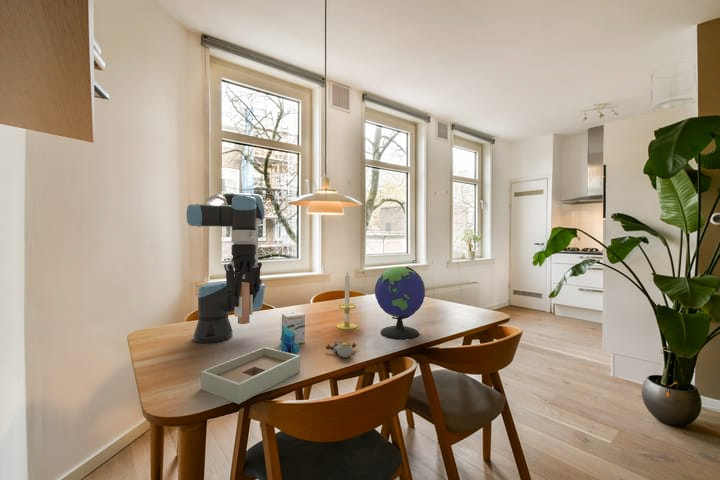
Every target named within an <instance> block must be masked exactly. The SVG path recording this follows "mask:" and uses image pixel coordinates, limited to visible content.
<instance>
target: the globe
mask: <svg viewBox="0 0 720 480" xmlns="http://www.w3.org/2000/svg"><path fill="white" fill-rule="evenodd" d="M374 286H375V288H374V295H375V298H376V301H377V304H378V305H379V307H380V308H381V309H382V311H383V312H385V314H388V315H389V316H391V319H394V320H396V324H395V325H391V326H387V327H384V328H382V329H381V330H380V333H379V334H380V335H381V336H382V337H384V338H386V339H390V340H399V341H406V339H409V340H414V339H416V338H419V337H420V332H419V330H417V329H415V328H414V327H409V326H406V325H404V321H403V320H405V319H408V318H410V317H411V316H413V315H414V314H415V313H416V312H417V311H419V309H421V307H422V305H423V303H424V302H425V301H424V300H425V296H426V289H425V284H424V280H423V279H422V277H421V275H419V273H417V272H416V271H415V270H414V269H412V268H411V267H408V266H405V267H403V266H396V267H392V268H389V269H387V270H385V271H384V272H383V273H382V274H381V275H379V277H378V279H377V281H376V283H375V285H374ZM418 336H419V337H418Z"/></svg>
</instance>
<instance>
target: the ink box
mask: <svg viewBox="0 0 720 480" xmlns="http://www.w3.org/2000/svg"><path fill="white" fill-rule="evenodd" d="M283 325H284V326H285V327H287V328H288V329H290V330H291V331H292V332H294V333H295V334H296V335H295V340H294V343H295V344H296V345H297V344H304V343H305V341H306V314H305V313H304V312H302V311H295V312H284V313H282V314H281V330H282V329H283ZM280 342H281V341H280ZM281 344H282V342H281Z"/></svg>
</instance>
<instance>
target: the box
mask: <svg viewBox="0 0 720 480" xmlns="http://www.w3.org/2000/svg"><path fill="white" fill-rule="evenodd" d="M298 373H301V355H300V354H299V355H296V354H292V353H288V352H284V351H281V349H280V350H278V349H275V348H271V347H268V346H263V347H261V348H259V349H255V350H253V351H250V352H248V353H245V354H243V355H240V356H237V357H236V358H235V357H234V358H232V359H230V360H227V361H224V362H222V363H218V364H217V365H214V366H212V367H211V366H210V367H209V368H206V369H204V370H200V390H202V391H204V392H206V393H210V394H212V395H214V396H217V397H219V398H222V399H224V400H227V401H230V402H232V403H235V404H238V405H240V404H241V403H243V402H246V401H247V400H250V399H251V398H253V397H255V396H257V395H259V394H260V393H262V392H264V391H266V390H267V389H270V388H272V387H274V386H276V385H278V384H279V383H281V382H283V381H285V380H287V379H288V378H290V377H293V376H295V374H296V375H297V374H298Z"/></svg>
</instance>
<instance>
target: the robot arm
mask: <svg viewBox="0 0 720 480" xmlns="http://www.w3.org/2000/svg"><path fill="white" fill-rule="evenodd" d="M265 216H266V215H265V208H264V199H263V197H262V195H260V194H257V193H244V192H243V193H242V192H240V193H239V192H221V193H217V194H214V195H210V196H209V197H208V198H207V199H206V200H205V201H204V203H203V204H199V203H195V204H193V203H192V204H191V203H190V204H189V205H187V208H186V222H187V224H188V225H189V226H190V227H198V228H200V227H221V228H223V227H226V228H230V227H231V241H230V242H231V243H232V245H231V256H232V259H231V262H229V263H225V264H224V265H223V267H224V268H223V269H224V270H225V280H226V281H225V280H224V281H215V282H209V283H206V284H203V285H201V286H200V287H199V288H198V295H197V301H198V302H197V308H198V310H197V312H198V313H197V316H198V317H197V324H196V327H195V329H194V333H193V342H195V343H198V344H199V343H200V344H211V343H212V344H213V343H221V342H223V341H228V340H229V339H231V338H233V333H234V332H233V328H232V325H231V323H230V319H229V313H234V317H236V318H238V317H242V296H240V291H241V285H242V282H250V316H251V315H253V313H254V312H253V311H259V310H261V309H262V307H263V303H264V298H265V297H264V296H265V287H266V284H265V283H263V281H262V278H261V269H262V265H263V264H262V262H259V225H261V224H262V220H264V219H265Z"/></svg>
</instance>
